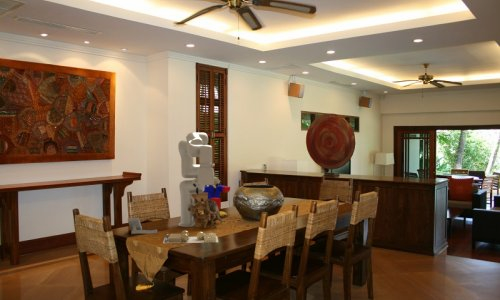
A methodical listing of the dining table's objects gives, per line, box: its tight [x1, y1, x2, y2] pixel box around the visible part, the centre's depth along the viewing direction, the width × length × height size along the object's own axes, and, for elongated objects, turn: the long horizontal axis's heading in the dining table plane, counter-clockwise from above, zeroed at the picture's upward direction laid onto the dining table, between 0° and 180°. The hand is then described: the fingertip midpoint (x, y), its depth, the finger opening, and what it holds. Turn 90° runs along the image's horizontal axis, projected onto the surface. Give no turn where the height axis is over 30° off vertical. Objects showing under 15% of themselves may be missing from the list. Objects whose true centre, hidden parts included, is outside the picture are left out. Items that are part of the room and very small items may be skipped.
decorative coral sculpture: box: [188, 197, 224, 229], centre depth 297 cm, size 26×23×30 cm
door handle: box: [127, 217, 158, 235], centre depth 270 cm, size 18×8×20 cm
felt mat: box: [162, 235, 219, 244], centre depth 252 cm, size 15×32×1 cm, turn 97°
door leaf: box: [196, 231, 217, 243], centre depth 254 cm, size 12×11×4 cm
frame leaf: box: [168, 229, 190, 244], centre depth 251 cm, size 12×11×4 cm
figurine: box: [199, 176, 231, 217], centre depth 338 cm, size 22×22×30 cm
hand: (205, 194), depth 252 cm, fingers open, 9 cm apart
